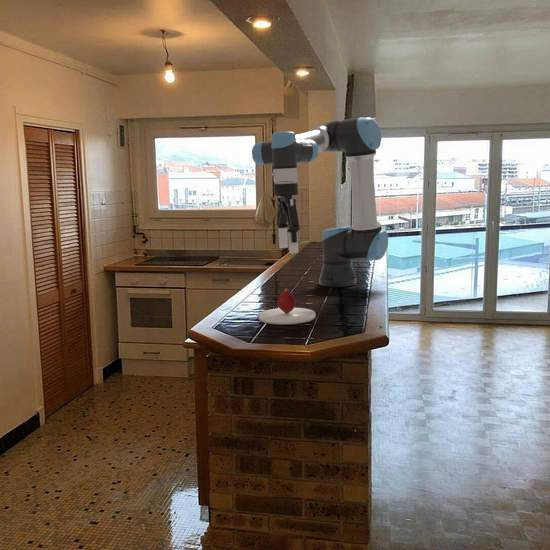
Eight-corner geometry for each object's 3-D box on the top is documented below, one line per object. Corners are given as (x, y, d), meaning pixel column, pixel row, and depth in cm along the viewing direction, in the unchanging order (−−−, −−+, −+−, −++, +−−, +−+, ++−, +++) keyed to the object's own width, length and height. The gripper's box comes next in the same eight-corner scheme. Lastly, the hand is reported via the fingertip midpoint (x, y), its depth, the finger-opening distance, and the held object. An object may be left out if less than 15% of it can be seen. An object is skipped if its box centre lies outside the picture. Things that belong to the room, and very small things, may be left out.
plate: (307, 309, 198) (307, 305, 198) (322, 321, 181) (322, 317, 181) (254, 313, 195) (253, 310, 194) (264, 326, 177) (264, 322, 177)
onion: (285, 310, 192) (284, 286, 191) (299, 312, 188) (299, 287, 187) (274, 314, 187) (273, 289, 186) (288, 316, 184) (287, 290, 182)
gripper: (265, 183, 196) (269, 246, 200) (283, 183, 172) (286, 256, 176) (287, 181, 198) (290, 245, 201) (308, 182, 173) (310, 254, 177)
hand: (288, 250), depth 188 cm, fingers open, 13 cm apart
